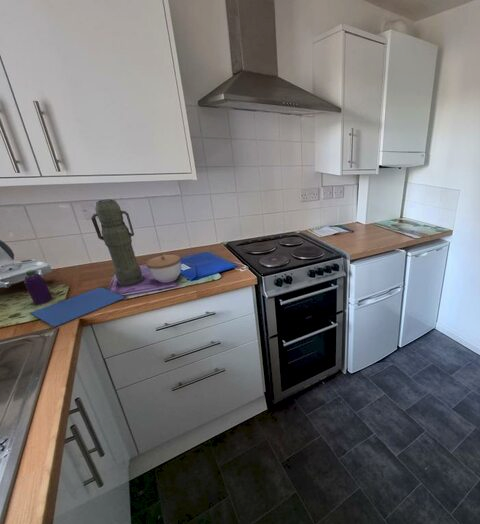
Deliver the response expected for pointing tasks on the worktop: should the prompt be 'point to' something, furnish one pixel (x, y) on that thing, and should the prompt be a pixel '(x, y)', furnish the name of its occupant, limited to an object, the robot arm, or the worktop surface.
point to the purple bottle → (37, 288)
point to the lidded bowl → (164, 268)
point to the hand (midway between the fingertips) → (24, 280)
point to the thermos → (118, 241)
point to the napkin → (77, 306)
